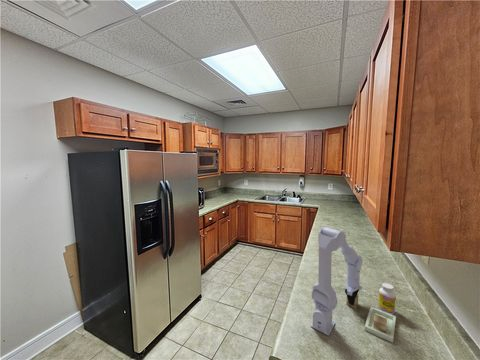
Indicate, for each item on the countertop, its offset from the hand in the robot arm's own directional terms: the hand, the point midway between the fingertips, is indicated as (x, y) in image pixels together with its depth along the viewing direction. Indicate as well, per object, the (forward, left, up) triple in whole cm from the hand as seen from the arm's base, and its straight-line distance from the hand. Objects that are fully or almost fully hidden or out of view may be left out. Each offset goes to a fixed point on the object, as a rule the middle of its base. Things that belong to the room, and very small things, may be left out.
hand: (352, 301), depth 106 cm
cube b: (0, 0, -1) cm, 1 cm away
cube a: (-11, -13, -1) cm, 17 cm away
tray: (-7, -13, -1) cm, 15 cm away
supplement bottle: (+6, -14, -2) cm, 15 cm away
